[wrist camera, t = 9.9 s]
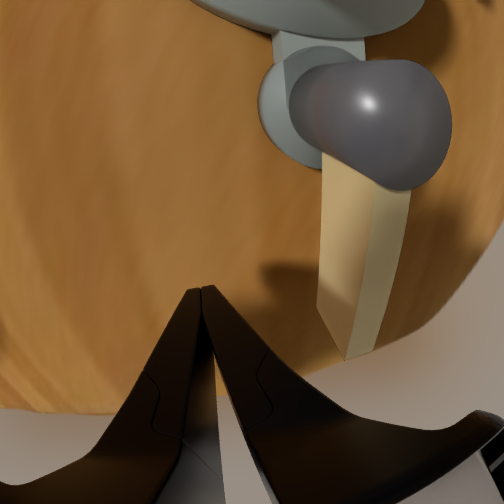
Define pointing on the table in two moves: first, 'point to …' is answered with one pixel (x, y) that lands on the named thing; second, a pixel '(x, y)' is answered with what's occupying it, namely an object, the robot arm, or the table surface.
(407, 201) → the mallet
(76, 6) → the table surface
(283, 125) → the levelling base
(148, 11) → the table surface
